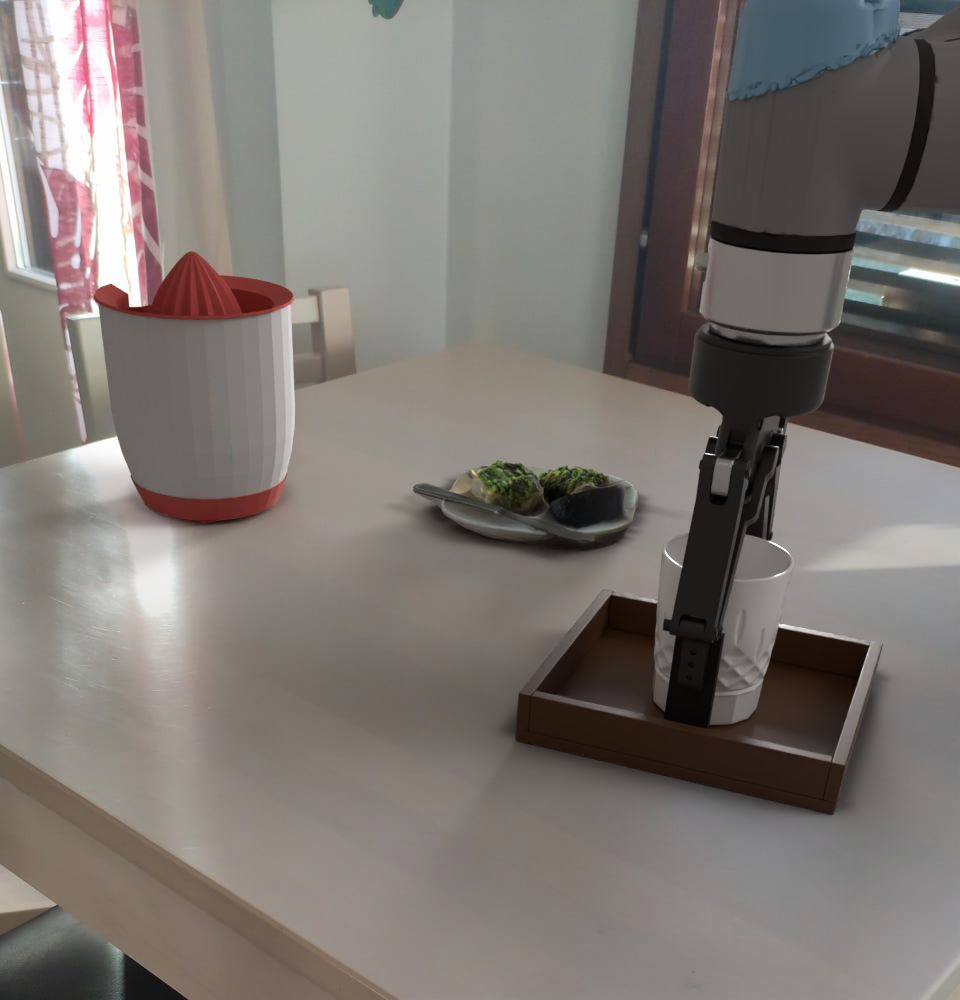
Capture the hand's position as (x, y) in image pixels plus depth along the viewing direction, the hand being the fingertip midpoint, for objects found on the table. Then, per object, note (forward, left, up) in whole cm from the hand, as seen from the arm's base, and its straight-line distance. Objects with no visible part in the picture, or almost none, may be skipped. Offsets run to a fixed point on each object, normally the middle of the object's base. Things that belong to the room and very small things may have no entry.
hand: (706, 691), depth 81 cm
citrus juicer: (+49, -19, -2) cm, 53 cm away
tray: (0, 0, -2) cm, 2 cm away
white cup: (0, 0, -1) cm, 1 cm away
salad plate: (+21, -29, -2) cm, 36 cm away
